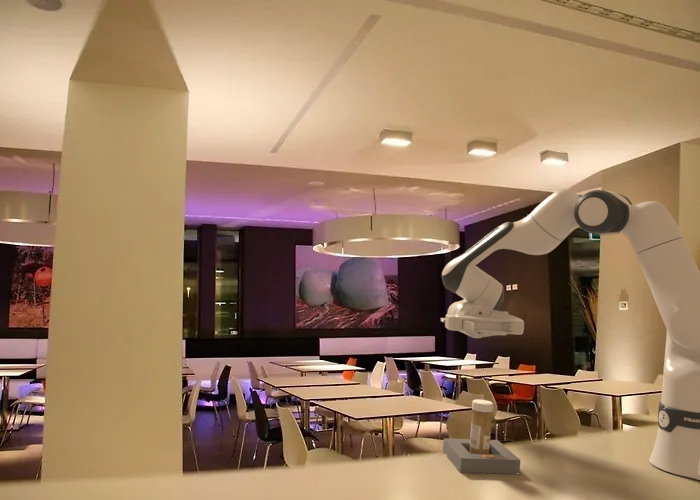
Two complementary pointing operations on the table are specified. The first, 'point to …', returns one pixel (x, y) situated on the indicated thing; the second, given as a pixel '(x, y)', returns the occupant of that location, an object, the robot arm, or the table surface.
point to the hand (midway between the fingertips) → (494, 328)
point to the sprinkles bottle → (480, 426)
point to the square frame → (481, 457)
